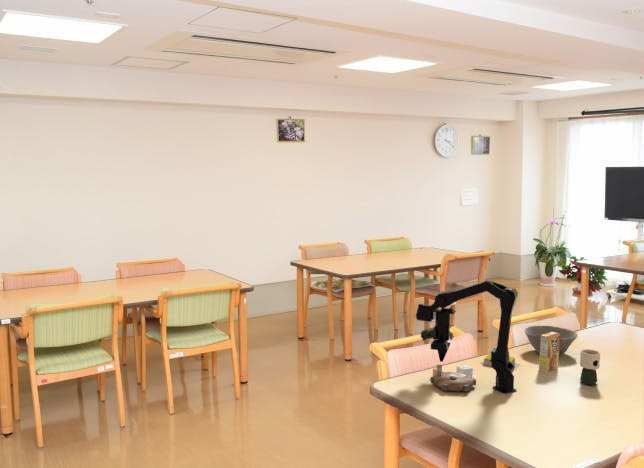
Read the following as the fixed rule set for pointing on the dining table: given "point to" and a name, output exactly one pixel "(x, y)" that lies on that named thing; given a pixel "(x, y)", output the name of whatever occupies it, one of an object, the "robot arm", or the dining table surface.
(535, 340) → the ceramic bowl
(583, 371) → the character mug
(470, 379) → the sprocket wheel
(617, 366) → the dining table surface
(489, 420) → the dining table surface
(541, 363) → the candy box
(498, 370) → the robot arm
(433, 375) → the index pointer
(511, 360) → the emergency button
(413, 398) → the dining table surface
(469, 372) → the grey small block
